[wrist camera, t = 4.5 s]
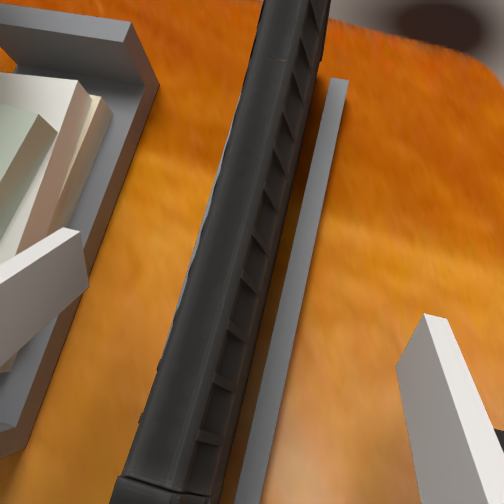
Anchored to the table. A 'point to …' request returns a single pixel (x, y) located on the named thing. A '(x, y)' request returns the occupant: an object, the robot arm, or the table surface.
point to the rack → (107, 191)
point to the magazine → (229, 271)
